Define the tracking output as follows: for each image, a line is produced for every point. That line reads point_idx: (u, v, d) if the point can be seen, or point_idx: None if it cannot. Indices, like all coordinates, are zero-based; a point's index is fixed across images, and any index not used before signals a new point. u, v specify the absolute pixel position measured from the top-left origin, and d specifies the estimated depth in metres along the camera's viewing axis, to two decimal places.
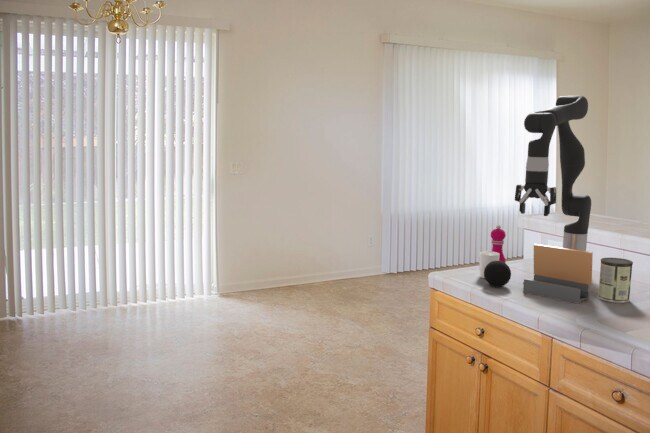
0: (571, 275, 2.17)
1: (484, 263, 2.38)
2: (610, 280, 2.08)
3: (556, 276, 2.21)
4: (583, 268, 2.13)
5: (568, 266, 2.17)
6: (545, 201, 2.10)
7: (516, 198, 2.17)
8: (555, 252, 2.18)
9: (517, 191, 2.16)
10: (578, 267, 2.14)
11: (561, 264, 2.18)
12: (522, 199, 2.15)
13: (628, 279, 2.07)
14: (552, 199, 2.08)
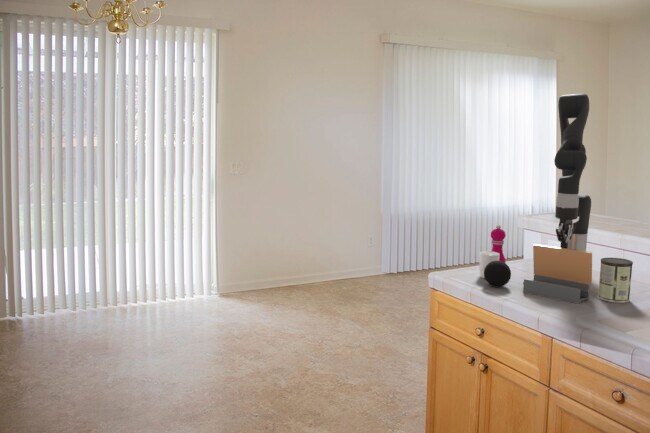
0: (571, 275, 2.17)
1: (484, 263, 2.38)
2: (610, 280, 2.08)
3: (556, 276, 2.21)
4: (583, 268, 2.13)
5: (568, 266, 2.17)
6: (569, 237, 2.18)
7: (565, 239, 2.15)
8: (555, 252, 2.18)
9: (564, 234, 2.13)
10: (578, 267, 2.14)
11: (560, 264, 2.18)
12: (567, 238, 2.16)
13: (628, 279, 2.07)
14: (571, 235, 2.19)
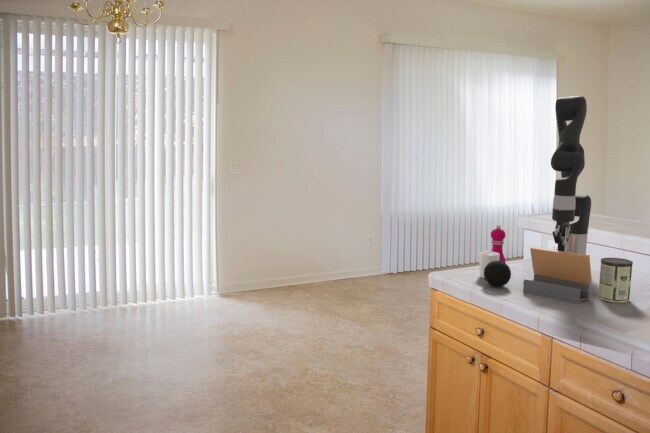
0: (570, 276, 2.17)
1: (484, 263, 2.38)
2: (610, 280, 2.08)
3: (556, 276, 2.21)
4: (582, 270, 2.12)
5: (567, 268, 2.16)
6: (566, 240, 2.16)
7: (562, 242, 2.13)
8: (552, 255, 2.17)
9: (560, 236, 2.11)
10: (577, 269, 2.13)
11: (559, 265, 2.17)
12: (564, 240, 2.14)
13: (628, 279, 2.07)
14: (568, 237, 2.17)
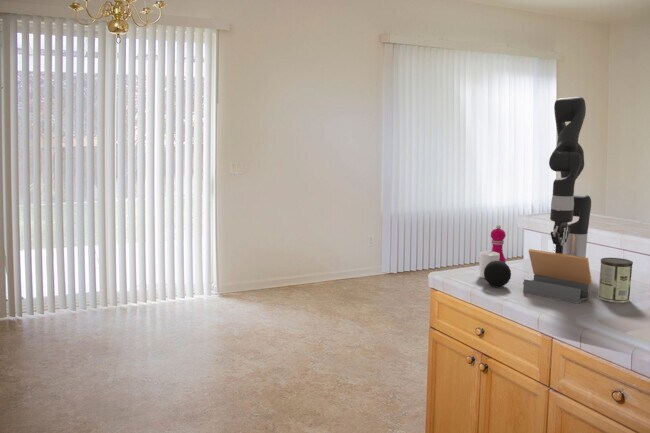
0: (570, 276, 2.16)
1: (484, 263, 2.38)
2: (610, 280, 2.08)
3: (556, 276, 2.21)
4: (581, 271, 2.12)
5: (566, 269, 2.15)
6: (564, 240, 2.14)
7: (560, 242, 2.12)
8: (551, 257, 2.16)
9: (559, 237, 2.10)
10: (576, 270, 2.13)
11: (558, 267, 2.17)
12: (562, 241, 2.13)
13: (628, 279, 2.07)
14: (566, 238, 2.16)
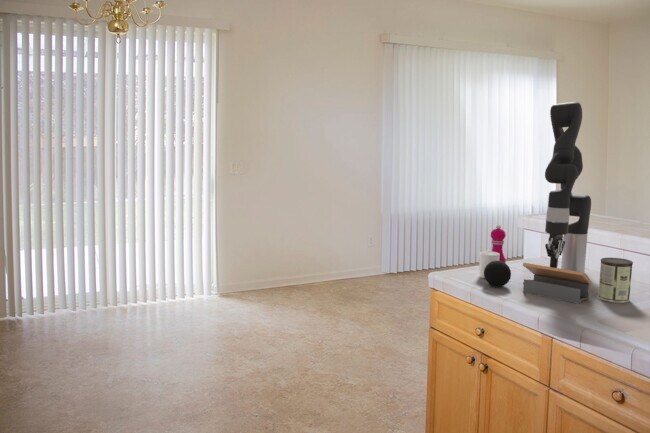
0: (569, 279, 2.16)
1: (484, 263, 2.38)
2: (610, 280, 2.08)
3: (555, 277, 2.20)
4: (578, 278, 2.11)
5: (563, 276, 2.14)
6: (559, 253, 2.12)
7: (555, 255, 2.09)
8: (546, 270, 2.14)
9: (553, 249, 2.08)
10: (573, 277, 2.12)
11: (555, 274, 2.16)
12: (557, 254, 2.10)
13: (628, 279, 2.07)
14: (561, 251, 2.14)
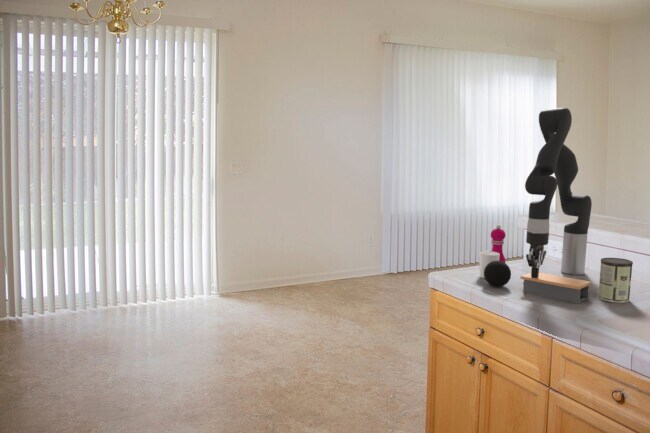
0: None
1: (484, 263, 2.38)
2: (610, 280, 2.08)
3: None
4: None
5: None
6: (540, 263, 2.15)
7: (535, 265, 2.13)
8: None
9: (534, 260, 2.11)
10: None
11: None
12: (537, 264, 2.14)
13: (628, 279, 2.07)
14: (542, 261, 2.17)
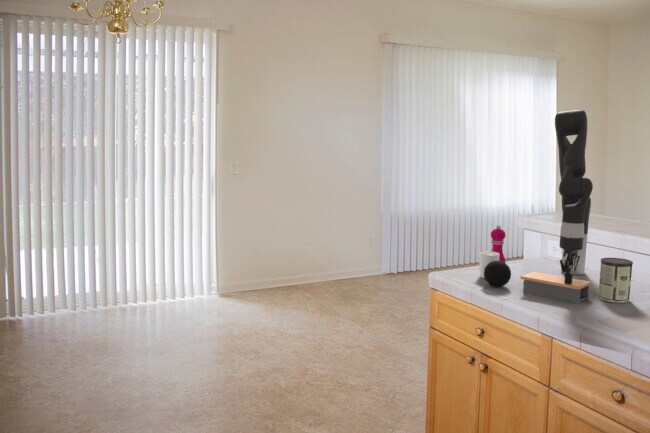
0: None
1: (484, 263, 2.38)
2: (610, 280, 2.08)
3: None
4: None
5: None
6: (573, 268, 2.07)
7: (569, 271, 2.05)
8: None
9: (568, 265, 2.03)
10: None
11: None
12: (571, 269, 2.06)
13: (628, 279, 2.07)
14: (576, 266, 2.09)
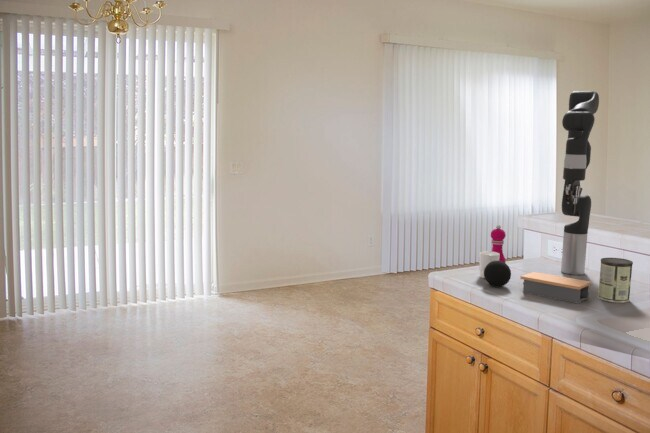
0: None
1: (484, 263, 2.38)
2: (610, 280, 2.08)
3: None
4: None
5: None
6: (576, 199, 2.19)
7: (572, 200, 2.16)
8: None
9: (571, 195, 2.15)
10: None
11: None
12: (574, 199, 2.18)
13: (628, 279, 2.07)
14: (579, 197, 2.21)
